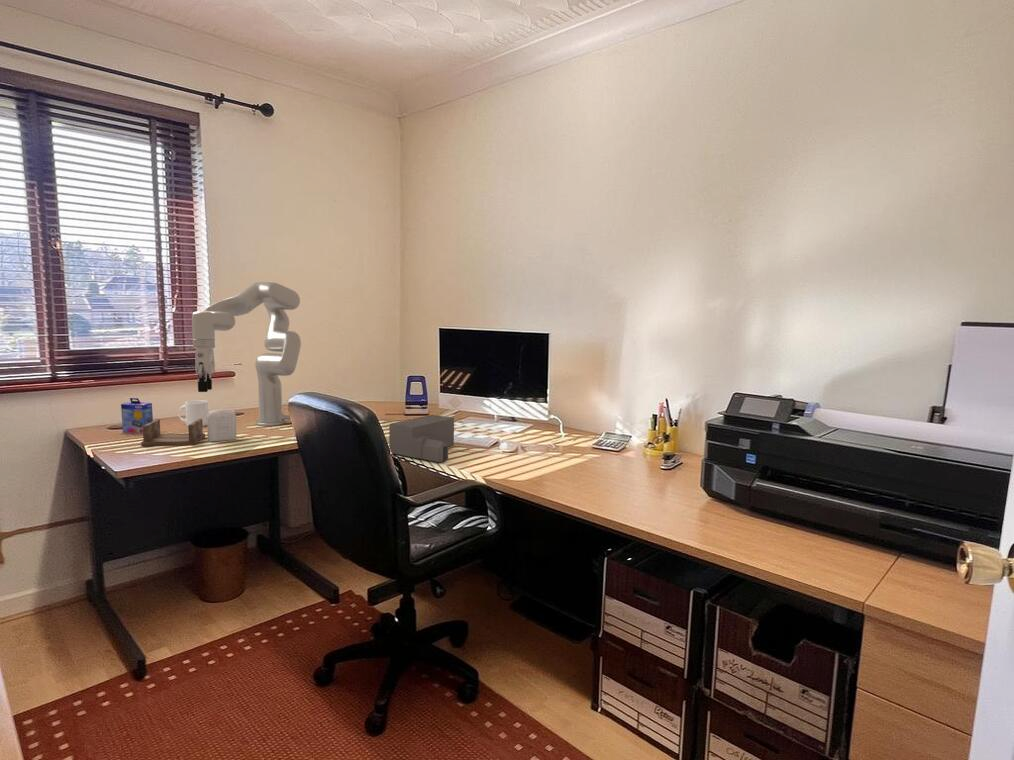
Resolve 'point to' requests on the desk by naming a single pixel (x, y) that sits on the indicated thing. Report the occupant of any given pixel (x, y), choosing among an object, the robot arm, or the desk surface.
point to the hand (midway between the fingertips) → (205, 390)
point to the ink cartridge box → (135, 416)
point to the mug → (195, 411)
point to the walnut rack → (171, 435)
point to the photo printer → (221, 425)
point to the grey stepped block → (422, 437)
